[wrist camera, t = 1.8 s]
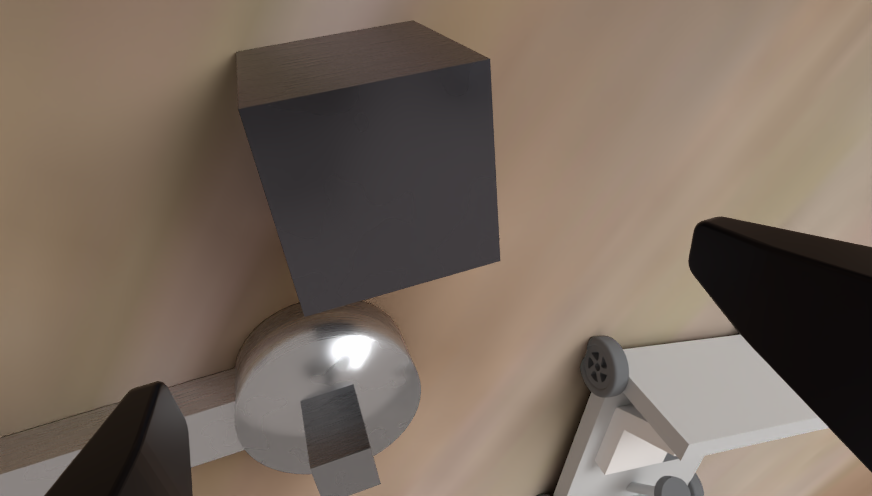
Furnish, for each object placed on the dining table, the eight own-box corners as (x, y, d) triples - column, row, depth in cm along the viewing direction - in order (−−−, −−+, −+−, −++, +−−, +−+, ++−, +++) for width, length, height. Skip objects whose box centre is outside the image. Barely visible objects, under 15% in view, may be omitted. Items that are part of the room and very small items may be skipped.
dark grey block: (413, 20, 16) (489, 59, 12) (432, 177, 19) (500, 260, 15) (236, 51, 15) (238, 109, 10) (284, 213, 18) (304, 316, 13)
